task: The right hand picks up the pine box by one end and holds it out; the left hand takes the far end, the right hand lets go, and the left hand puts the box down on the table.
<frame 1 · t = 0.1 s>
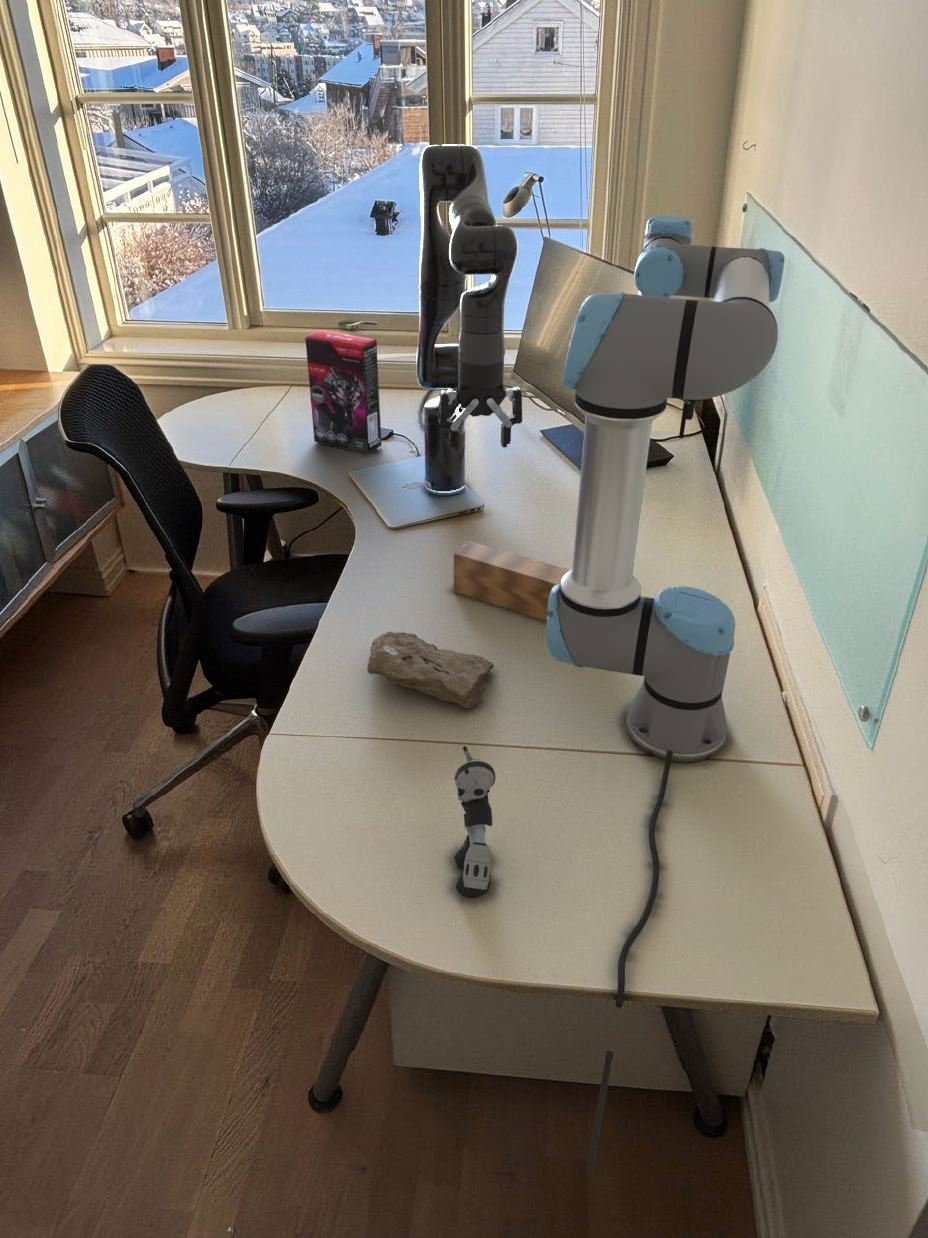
left hand: (479, 447, 161), 29 cm above the table, tool pointing down, fingers open, 8 cm apart
right hand: (643, 431, 170), 28 cm above the table, tool pointing down, fingers open, 13 cm apart
stone: (425, 681, 153), on the table
graphics card box: (347, 445, 234), on the table
robot: (472, 873, 119), on the table
box: (517, 602, 173), on the table
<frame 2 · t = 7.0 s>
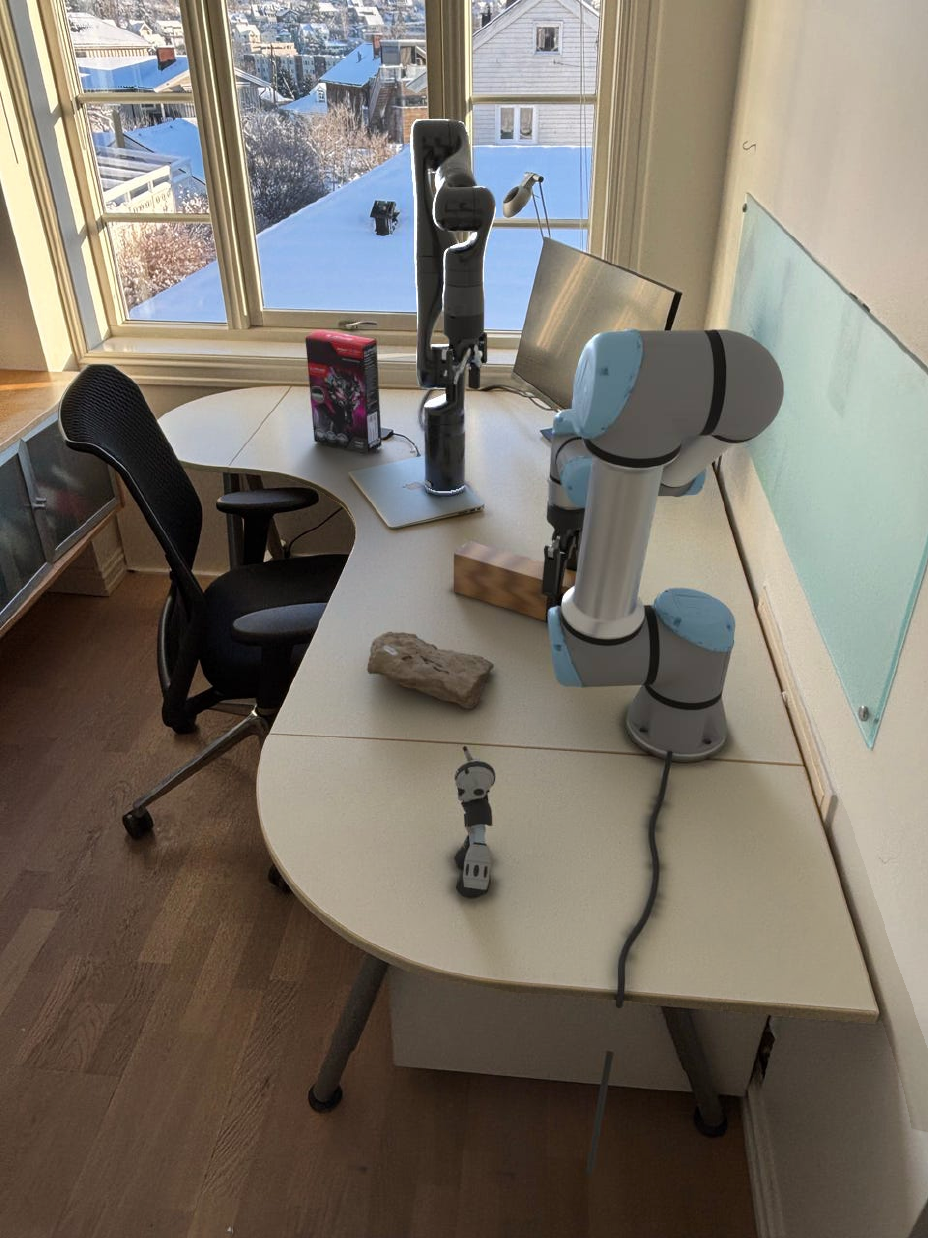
left hand: (462, 395, 175), 32 cm above the table, tool pointing down, fingers open, 8 cm apart
right hand: (560, 614, 169), 0 cm above the table, tool pointing down, fingers closed on box, 6 cm apart
box: (517, 602, 173), on the table, touching right hand
everything else where it was.
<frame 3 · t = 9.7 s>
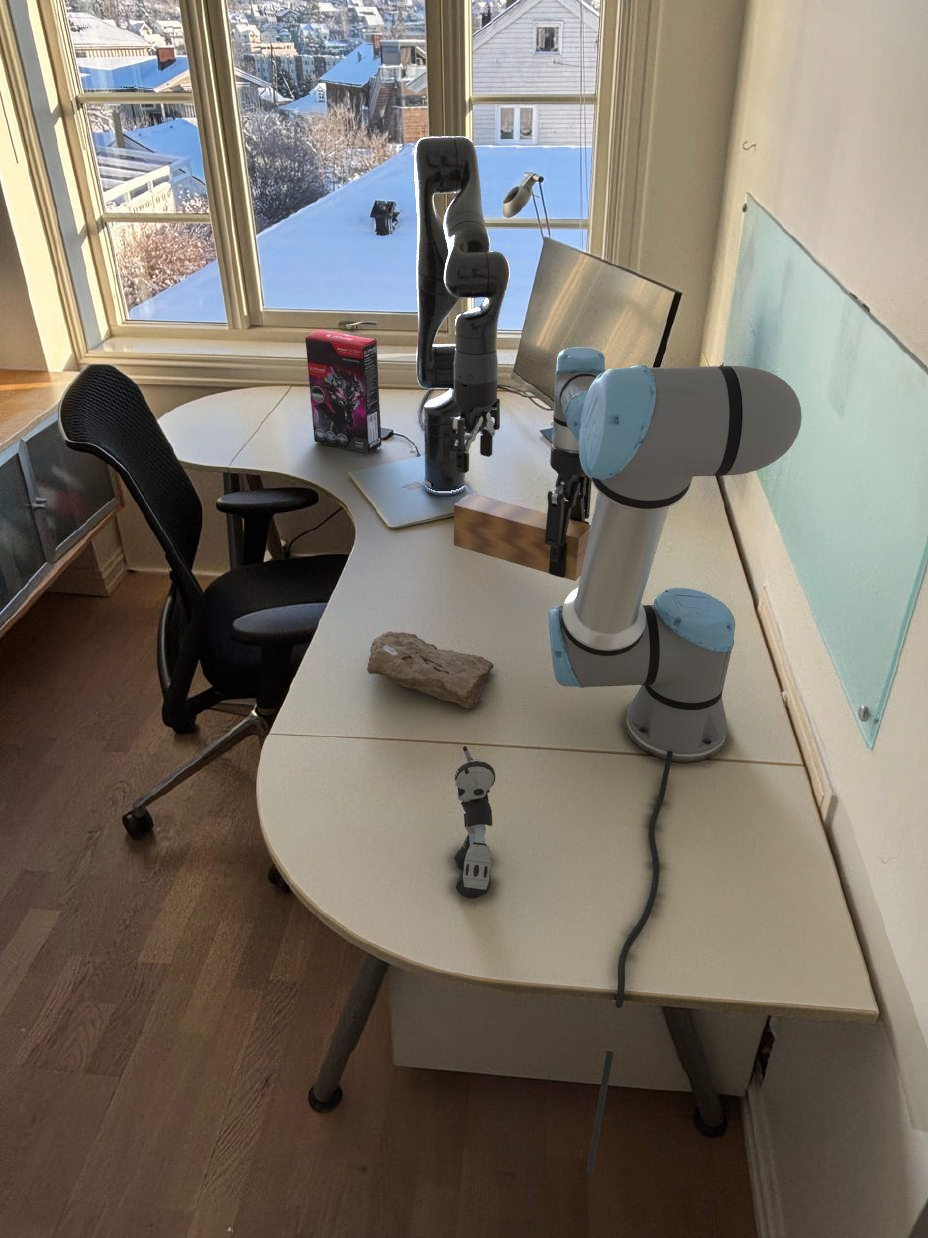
left hand: (474, 463, 167), 24 cm above the table, tool pointing down, fingers open, 8 cm apart
right hand: (564, 566, 164), 11 cm above the table, tool pointing down, fingers closed on box, 6 cm apart
box: (519, 556, 168), point 10 cm above the table, touching right hand
everything else where it was.
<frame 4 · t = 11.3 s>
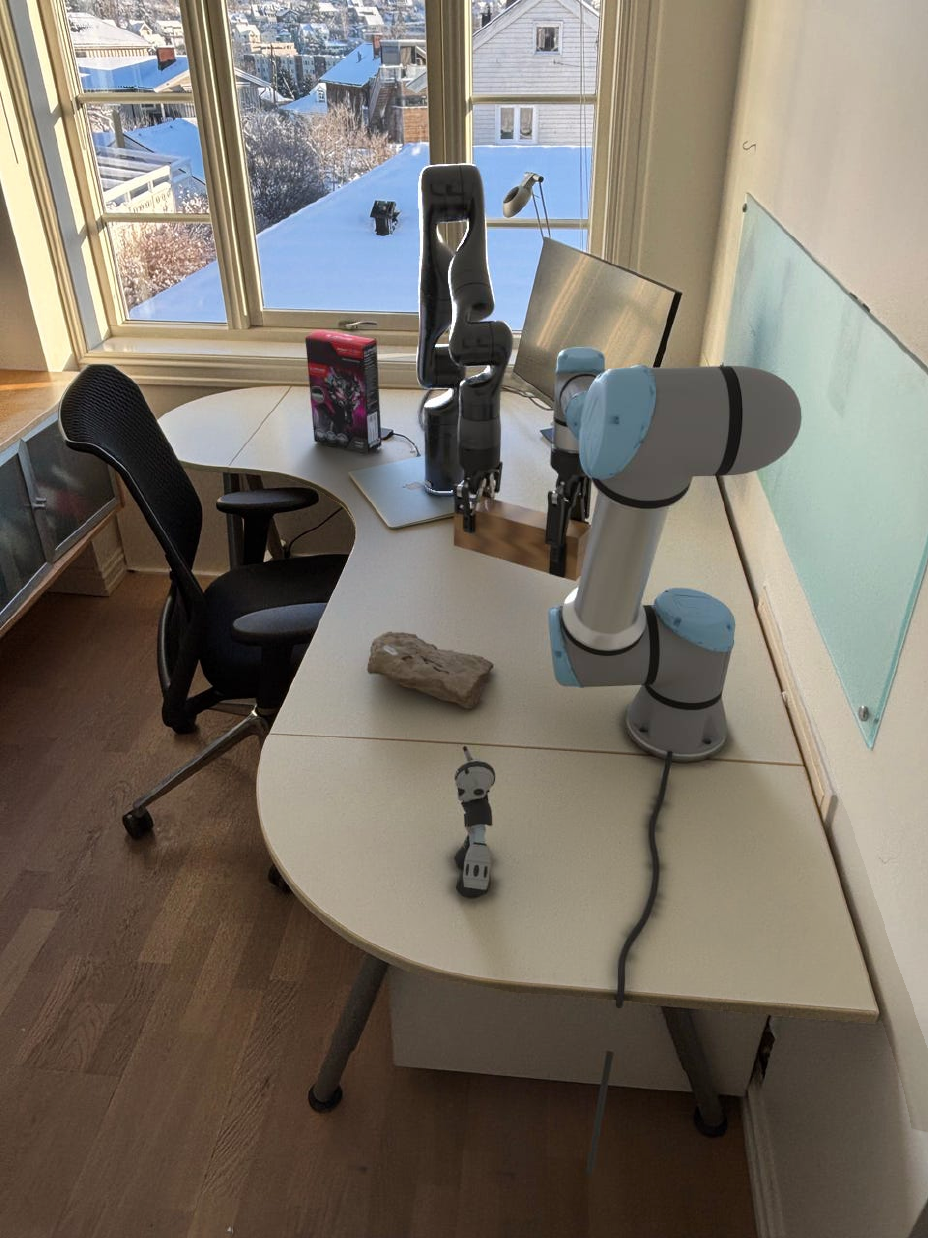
left hand: (477, 524, 169), 14 cm above the table, tool pointing down, fingers closed on box, 5 cm apart
right hand: (564, 566, 164), 11 cm above the table, tool pointing down, fingers closed on box, 6 cm apart
box: (520, 556, 168), point 10 cm above the table, touching right hand, left hand
everything else where it was.
when the right hand's fingers open (11 cm above the table, at t = 12.3 s): box stays where it is, held by the left hand.
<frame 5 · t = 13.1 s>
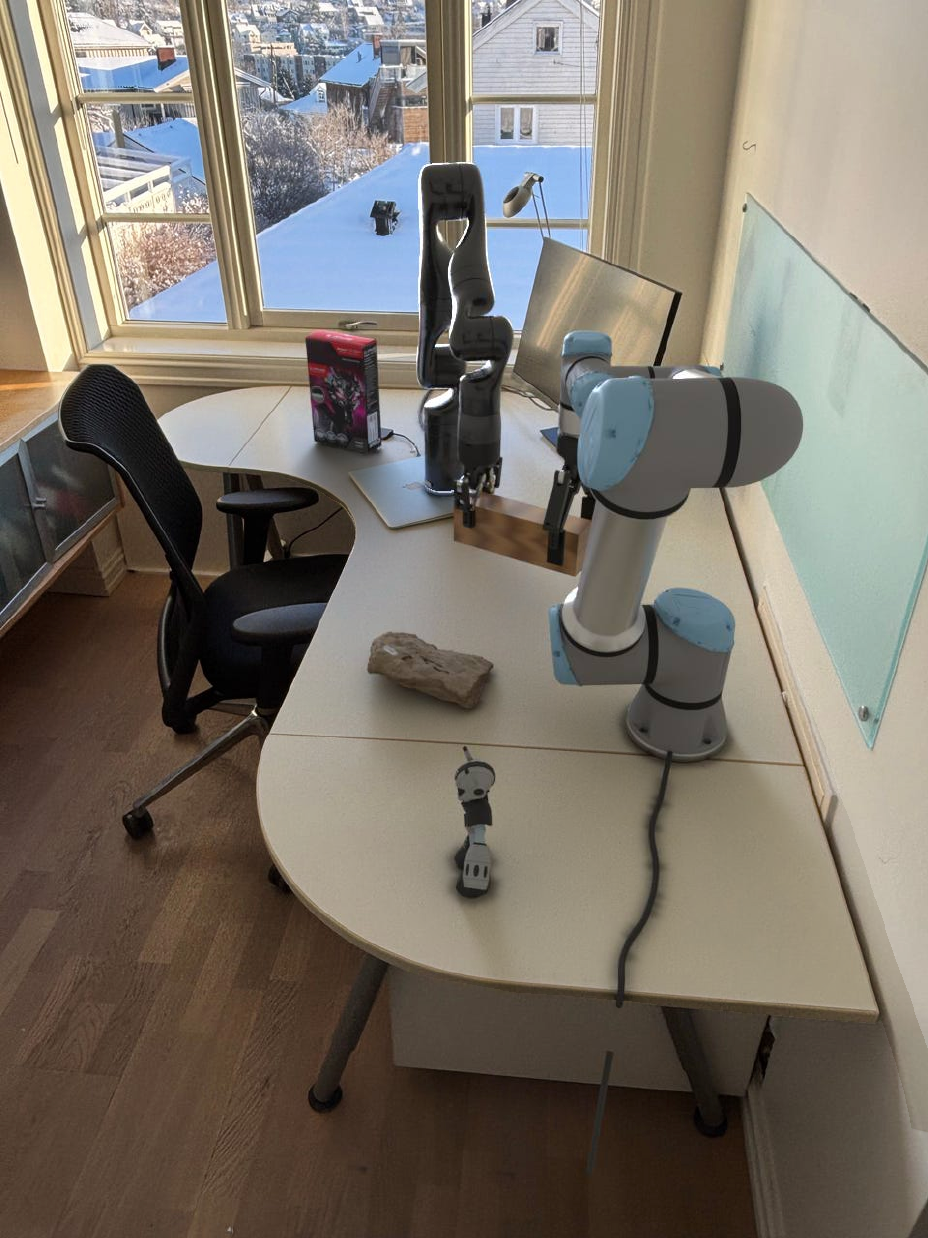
left hand: (477, 519, 169), 15 cm above the table, tool pointing down, fingers closed on box, 5 cm apart
right hand: (571, 547, 160), 15 cm above the table, tool pointing down, fingers open, 13 cm apart
box: (519, 551, 167), point 11 cm above the table, touching left hand
everything else where it was.
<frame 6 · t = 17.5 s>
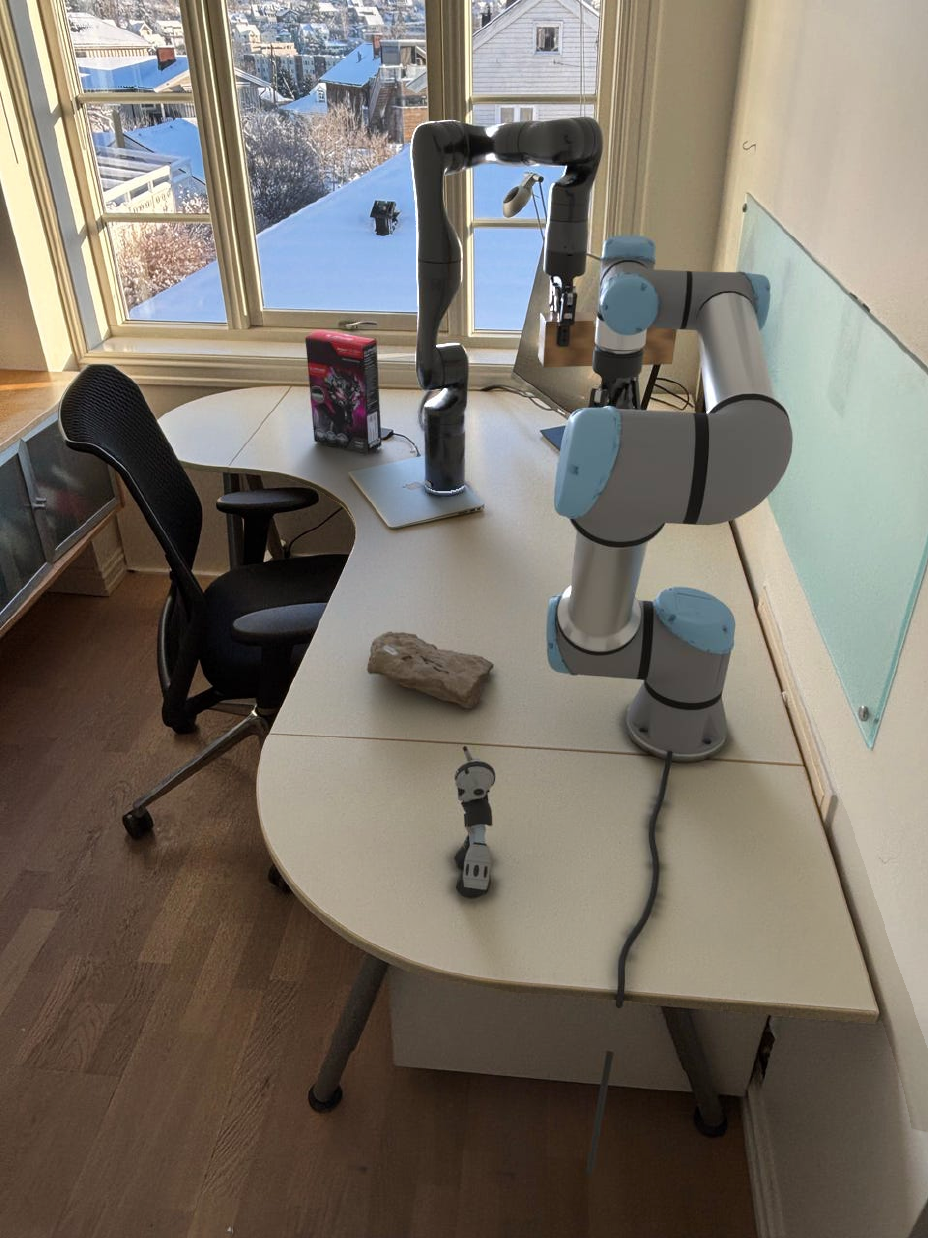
left hand: (559, 340, 172), 41 cm above the table, tool pointing down, fingers closed on box, 5 cm apart
right hand: (605, 475, 151), 30 cm above the table, tool pointing down, fingers open, 13 cm apart
box: (604, 360, 175), point 37 cm above the table, touching left hand
everything else where it was.
when the left hand's fingers open (6 cm above the table, at t = 24.0 s): box drops 1 cm, on the table.
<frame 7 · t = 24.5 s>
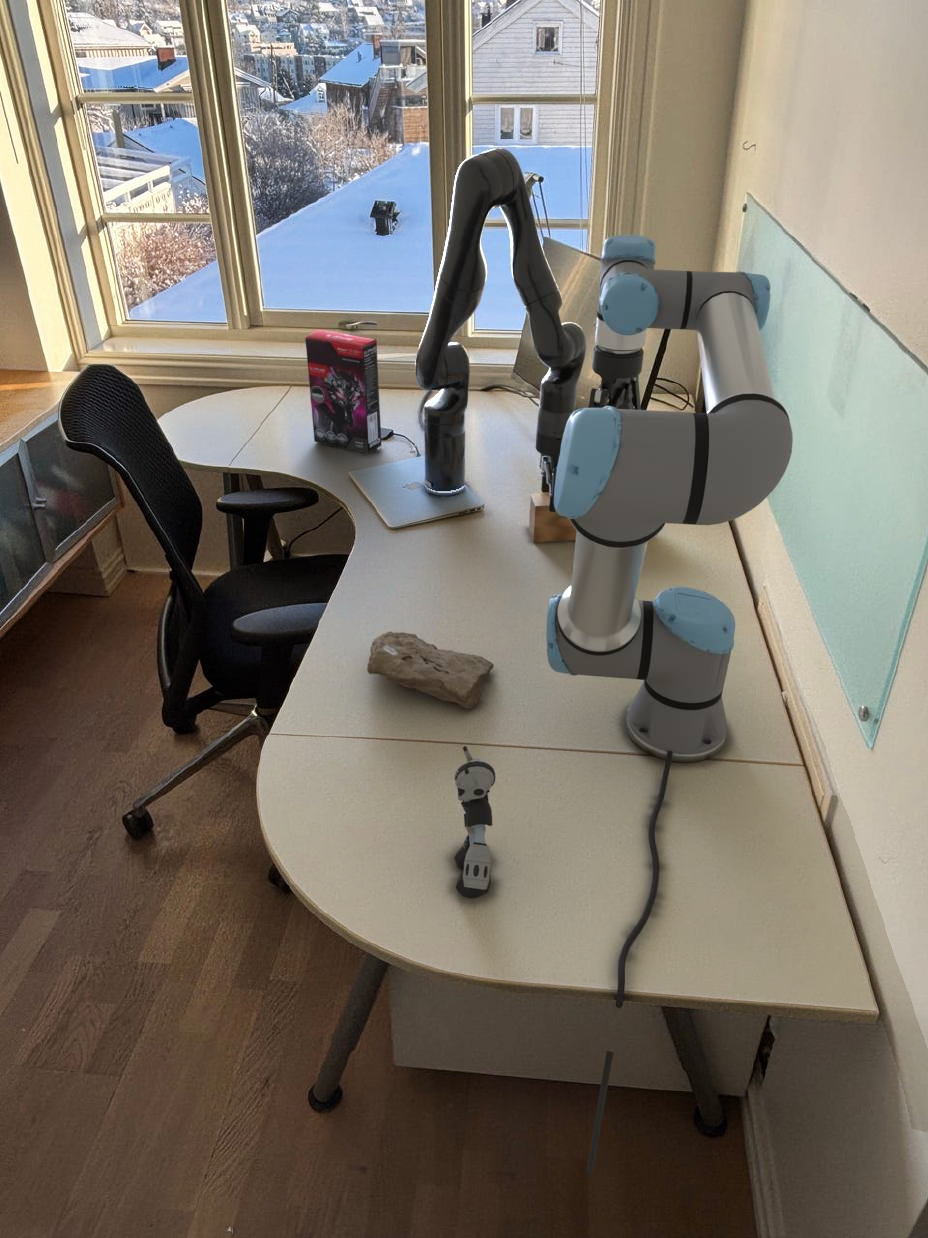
left hand: (550, 501, 191), 8 cm above the table, tool pointing down, fingers open, 8 cm apart
right hand: (605, 475, 151), 30 cm above the table, tool pointing down, fingers open, 13 cm apart
box: (588, 532, 196), on the table
everything else where it was.
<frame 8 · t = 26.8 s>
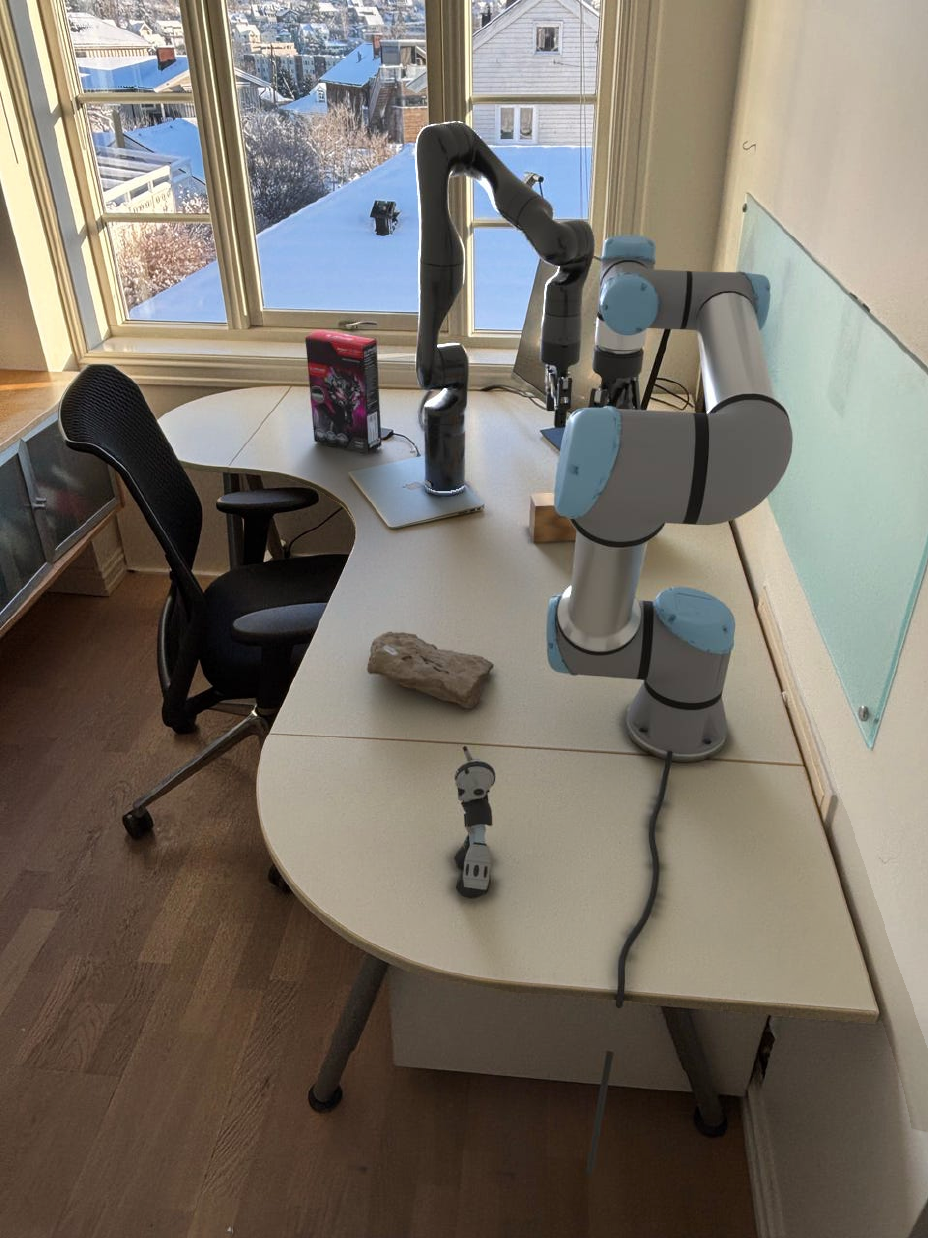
left hand: (555, 418, 181), 26 cm above the table, tool pointing down, fingers open, 8 cm apart
right hand: (605, 475, 151), 30 cm above the table, tool pointing down, fingers open, 13 cm apart
nothing on the table moved.
at the end: box inside the target area (8.8 cm from its centre), on the table; the left hand is holding nothing; the right hand is holding nothing; box at rest at the end (0.0 cm/s) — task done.
